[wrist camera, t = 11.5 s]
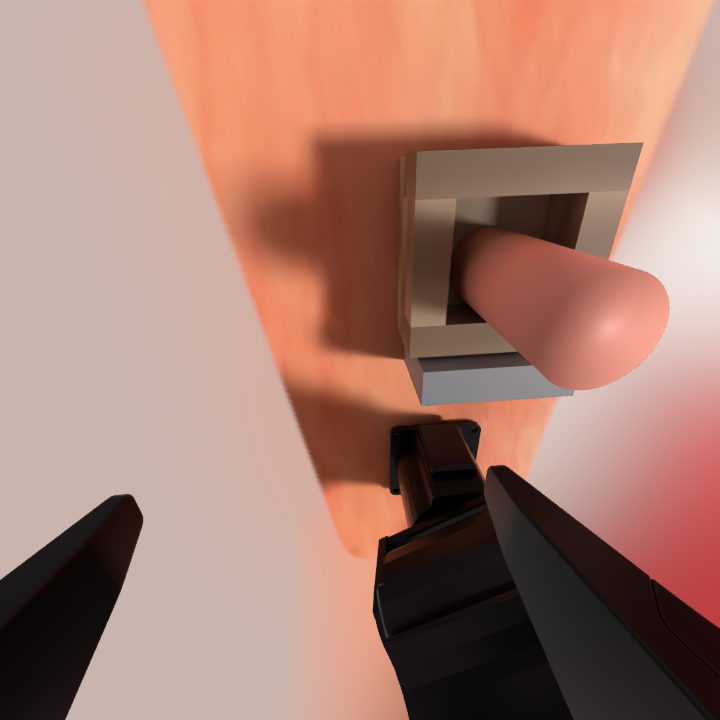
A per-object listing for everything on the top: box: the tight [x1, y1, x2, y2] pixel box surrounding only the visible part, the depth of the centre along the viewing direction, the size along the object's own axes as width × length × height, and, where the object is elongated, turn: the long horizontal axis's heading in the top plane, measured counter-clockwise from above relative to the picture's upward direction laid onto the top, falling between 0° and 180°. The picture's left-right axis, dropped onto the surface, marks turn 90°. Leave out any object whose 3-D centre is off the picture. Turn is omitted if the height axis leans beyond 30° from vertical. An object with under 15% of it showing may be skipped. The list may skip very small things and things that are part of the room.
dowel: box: [449, 226, 669, 390], centre depth 14 cm, size 4×4×9 cm
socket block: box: [397, 143, 643, 358], centre depth 17 cm, size 9×9×4 cm
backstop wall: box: [404, 348, 574, 406], centre depth 20 cm, size 2×8×5 cm, turn 92°
